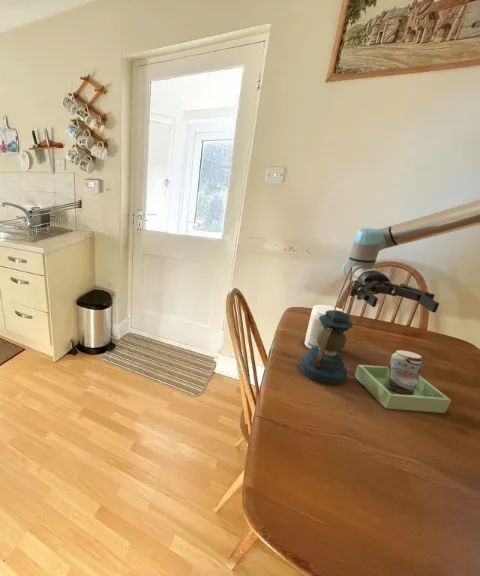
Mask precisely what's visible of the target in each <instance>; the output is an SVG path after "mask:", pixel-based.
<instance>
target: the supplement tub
mask: <svg viewBox="0 0 480 576" xmlns="http://www.w3.org/2000/svg"><path fill="white" fill-rule="evenodd" d="M334 309H335V305H334V306H333V305H328V304H315V305H314V306H313V307H312V310H311V313H310V316H309V320H308V326H307V330H306V334H305V339H304V345H305V347H306V348H308V349H309V350H310V349H311V348H312V347H316V346H319V345H318V343H317V336H318V333H319V331H320V330H322V329H324V327H323V325H322V324H321V321H320V320H319V317H320V316H322V315H325V313H326V311H329V310H334ZM336 310H338V311H343V308H339V307H338V306H336ZM343 312H344V313H346V314H347V312H346V310H344V311H343Z"/></svg>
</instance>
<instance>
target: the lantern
mask: <svg viewBox="0 0 480 576" xmlns="http://www.w3.org/2000/svg"><path fill="white" fill-rule="evenodd" d="M350 271H351V273H350ZM350 271H349V273H350V280H349V282H348V290H347V294H346V297H345V301H344V303H343V308H342V310H343V311H345V307H346V304H347V301H348V297H349V295H350V291H351V282H352V281H351V274H352V266H351V268H350ZM349 273H348V275H347V278H346V277H345V281H344V283H343V285H342V287H341V289H340V292H339V295H338V297H337V299H336V300H337V301H336V303H335V305H334V307H335V309H334V310H329V311H326V313H325V315H322V316H320V317H319V320H320V321H321V324H322V325H323V327H324V329H322V330H320V331H319V333H318V336H317V343H318V345H319V346H316V347H312V348H311V349H309V350H308V351H307V352H306V354H304V355H302V356H301V357H300V360H299V369H300V371H301V373H302V374H303V375H304V376H306V377H307V378H308V379H309V380H312V381H314V382H317V383H319V384H324V385H328V386H329V385H331V386H335V385H340V384H341V383H342V382H344V381H345V380H346V377H347V375H348V370H347V368H346V366H345V361H344V356H343V355H342V353H340V352H339V351H341V350H343V349H344V348H345V346H346V344H347V336H346V334H345V333H346V332H347V331H349V330H350V329H352V328H353V326H354V323H353V322H352V321H351V320H350V319H351V316H350V314H348V313H347V312H346V313H344V312H343V311H338V310H336V307H338V303H339V300H340V297H341V295H342V292H343V290H344V288H345V285H346V283H347V281H348V276H349Z"/></svg>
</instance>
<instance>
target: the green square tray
mask: <svg viewBox="0 0 480 576" xmlns="http://www.w3.org/2000/svg"><path fill="white" fill-rule="evenodd" d="M388 368H389V366H383V365H371V364H370V365H369V364H358V365H357V368H356V371H355V372H354V373H355V374H354V377H355V379H357V381H359V383H360V384H361V385H362V386H364V388H366V390H367V391H368V392H369V393H370V394H371V395H372V396H373V397H374V398H375V399H376V400H377V401H378V402H379V404H381V405H382V406H383V408H385V409H392V410H402V411H403V410H404V411H415V412H416V411H417V412H427V413H428V412H430V413H439V414H440V413H441V414H446V413H447V411H448V408H449V407H450V404H451V401H452V399H450V398H449V397H448V396H447V395H446V394H444V393H443V392H442V391H440V390H439V389H437V388H436V387H435V386H434V385H433V384H431V383H430V382H428V381H427V379H425V378H424V377H422V376H421V374H420V375H419V378H418V381H417V384H416V388H415V391H414V394H413V395H401V394H394V393H392V392H390V391H388V390H387V388H385V387H384V383H385V379H386V375H387V372H388Z"/></svg>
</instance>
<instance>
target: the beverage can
mask: <svg viewBox="0 0 480 576" xmlns="http://www.w3.org/2000/svg"><path fill="white" fill-rule="evenodd" d="M423 365H424V361H423V358H422V355H420V354H418V353H416V352H412V351H408V350H403V349H397V350H395V352H394V353H392V354H391V358H390V361H389V365H388V367H389V368H388V372H387V375H386V379H385V383H384V387H385V388H387V390H388V391H390V392H392V393H394V394H401V395H413V394H414V391H415V388H416V384H417V381H418V378H419V375H420V376H421V371H422V368H423Z"/></svg>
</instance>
